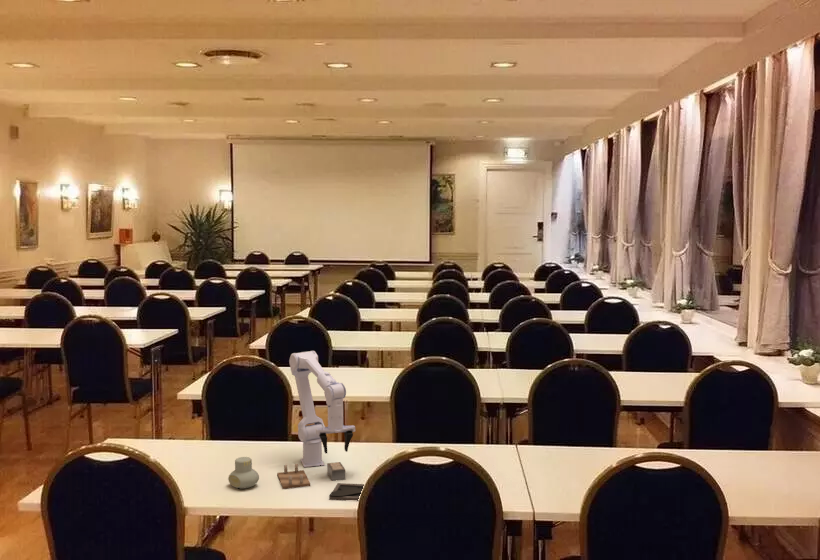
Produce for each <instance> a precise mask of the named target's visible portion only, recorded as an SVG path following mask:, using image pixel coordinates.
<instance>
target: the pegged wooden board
mask: <svg viewBox="0 0 820 560" xmlns="http://www.w3.org/2000/svg"><path fill="white" fill-rule="evenodd" d="M277 478H278V481H279V483H280V485H281V488H282V490H287V489H288V490H289V489H297V488H306V487H311V482H310V479H309V478H308V476H307V474H306V471H305V470H304V469H302V470H299V463H294V470H292V471H288V464H284V465H283V471H282V472H281V471H280V472H277Z"/></svg>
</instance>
